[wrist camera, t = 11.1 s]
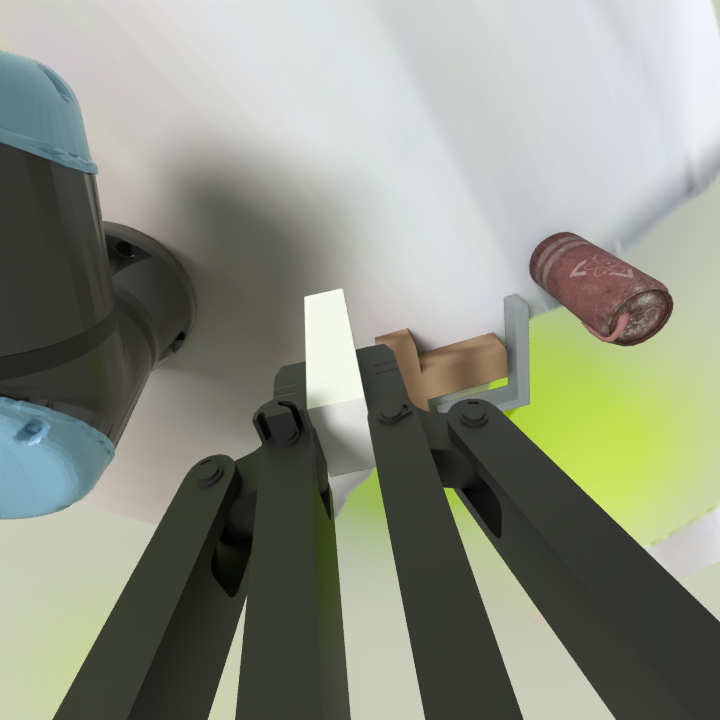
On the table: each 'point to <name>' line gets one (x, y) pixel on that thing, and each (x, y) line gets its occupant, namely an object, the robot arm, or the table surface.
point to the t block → (446, 365)
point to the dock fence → (509, 361)
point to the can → (601, 289)
